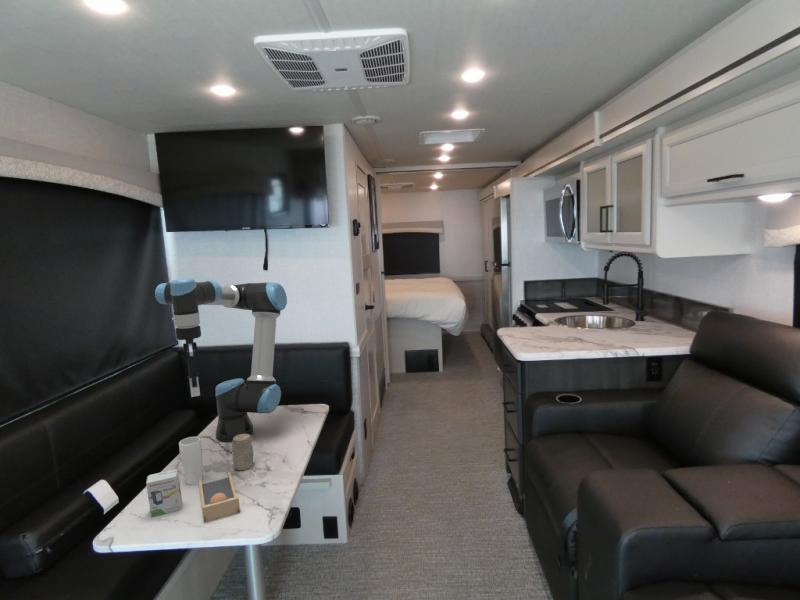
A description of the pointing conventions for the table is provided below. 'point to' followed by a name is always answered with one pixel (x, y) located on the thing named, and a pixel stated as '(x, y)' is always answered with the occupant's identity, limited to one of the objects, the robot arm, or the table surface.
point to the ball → (218, 498)
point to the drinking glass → (191, 459)
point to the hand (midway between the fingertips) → (195, 395)
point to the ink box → (164, 492)
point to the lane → (221, 507)
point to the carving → (242, 452)
